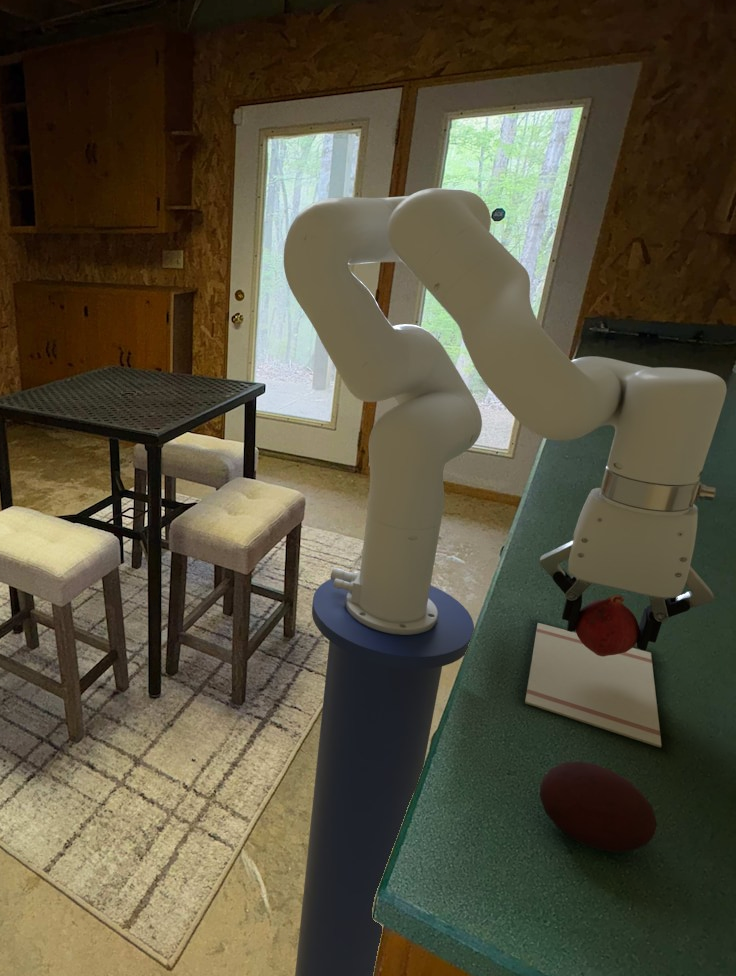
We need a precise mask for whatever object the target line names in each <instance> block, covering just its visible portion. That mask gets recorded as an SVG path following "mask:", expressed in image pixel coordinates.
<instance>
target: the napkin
mask: <svg viewBox="0 0 736 976" xmlns="http://www.w3.org/2000/svg"><path fill="white" fill-rule="evenodd" d="M525 694H526V695H525V701H524V704H526V705H529V706H532V707H535V708H538V709H541V710H544V711H548V712H550V713H553V714H556V715H560V716H563V717H564V718H565V717H566V718H568V719H571V720H574V721H578V722H580V723H584V724H586V725H590V726H593V727H596V728H599V729H602V730H605V731H608V732H611V733H615V734H617V735H620V736H623V737H626V738H629V739H633V740H634V741H635V740H636V741H639V742H641V743H645V744H648V745H651V746H654V747H657V748H659V749H661V748H662V746H663V745H662V738H661V729H660V728H661V727H660V721H659V712H658V711H659V710H658V703H657V702H658V701H657V695H656V694H657V693H656V685H655V677H654V666H653V658H652V652H650V651H647V650H646V651H642V650H639V648H636V647H635V648H634V647H632V648H631V649H630V650H628V651H627V652H624V653H620V654H616V655H608V656H604V657H603V656H598V655H596V654H595V653H594V652H592V651H591V650H589V649H588V648H587V647H586V646H584V644H583V643H582V642H581V641H580V639H579V638H578V636H577V633H576V631H575V632H574V631H573V632H570V631H567V629H563V628H559V627H555V626H552V625H548V624H544V623H540V622H537V625H536V631H535V636H534V644H533V651H532V657H531V663H530V669H529V675H528V682H527V688H526V693H525Z"/></svg>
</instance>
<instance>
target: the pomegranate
mask: <svg viewBox="0 0 736 976" xmlns="http://www.w3.org/2000/svg"><path fill="white" fill-rule="evenodd" d="M624 601H625V599H624V597H623V596H622V595H621V594H615V593H614V594H612V595H611V596H608V597H607V598H605V599H598V600H595V601H592V602H590V603H588V604H586V605H585V606H584V607H582V608H581V610H580V613H579V617H578V621H577V625H576V629H575V633H577V636H578V638H579V639H580V641H581V642H582V643H583V644H584V646H586V647H587V648H588V649H589V650H591V651H592V652H594V653H595V654H596V655H598V656H603V657H604V656H608V655H616V654H620V653H624V652H627V651H628V650H630V649H631V648H634V647H635V646H636V645H637V641H638V639H639V635H640V629H639V625H640V624H639V621H638V620H637V618H636V615H634V613H633V611H631V610H630V609H629V607H627V606H626V605H625V604H623V602H624Z"/></svg>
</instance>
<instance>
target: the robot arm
mask: <svg viewBox="0 0 736 976" xmlns="http://www.w3.org/2000/svg"><path fill="white" fill-rule="evenodd" d="M491 224H492V217H491V213H490V210H489V207H488V205H487V204H486V202H485V201H484V199H482V197H480V196H479V195H478V194H476V193H474V192H472V191H470V190H466V189H462V188H461V189H459V188H442V187H433V188H432V187H431V188H425V189H422V190H419V191H416V192H414V193H412V194H410V195H407V196H405V195H403V196H390V197H389V196H388V197H358V196H357V197H354V196H353V197H352V196H335V197H328V198H323V199H319V200H317V201H315V202H313V203H310V204H309V205H307V206H306V207H305V208H303V209H302V210H301V211H300V212H299V213H298V214H297V215H296V216H295V218H294V219H293V221H292V223H291V225H290V227H289V229H288V231H287V234H286V238H285V242H284V248H283V268H284V269H283V270H284V275H285V279H286V282H287V284H288V288H289V289H290V291H291V293H292V295H293V296H294V298H295V301H297V304H298V305H299V306H300V308H301V310H302V311H303V312H304V314H305V315H306V317H307V319H308V320H309V322H310V323H311V325H312V327H313V328H314V331H315V333H316V334H317V337H318V338H319V340H320V342H321V344H322V346H323V348H324V349H325V351H326V353H327V354H328V356H329V358H330V360H331V362H332V364H333V366H334V367H335V369H336V371H337V373H338V375H339V376H340V378H341V380H342V382H343V383H344V385H345V387H346V389H347V390H348V391H349V392H350V393H351V395H353V397H355V398H356V399H358V400H360V401H361V402H366V403H377V402H381V401H386V400H389V399H392V398H394V399H395V401H396V403H397V405H396V406H393V407H392V408H389V410H387V411H385V412H384V413H383V414H382V415H381V416H380V417H379V418H378V419H377V420H376V421H375V423H374V425H373V427H372V428H371V431H370V434H369V438H368V461H369V462H368V463H369V490H368V500H367V508H366V510H367V511H366V521H365V526H364V527H365V528H364V537H363V544H362V554H361V563H360V570H359V571H354V572H351V571H347V570H345V569H341V568H337V567H333V568H332V570H331V573H330V579H332V580H335V581H334V587H335V588H339V589H344V590H348V591H349V592H348V593H347V596H346V608H347V610H348V612H349V613H350V614H351V615H352V616H353V617H354V618H355V619H356V620H357V621H359V622H360V623H362V624H364V625H366V626H368V627H370V628H372V629H375V630H378V631H381V632H385V633H390V634H398V635H413V634H419V633H423V632H426V631H428V630H430V629H431V628H432V627H433V626H435V624H436V622H437V617H438V610H437V608H436V606H435V605H434V603H433V602H432V601H431V600H430V599H429V598H428V597H429V591H430V585H431V586H432V579H433V573H434V566H435V561H436V556H437V555H436V554H437V549H438V543H439V537H440V531H441V525H442V518H443V513H444V506H445V486H444V485H445V484H444V469H445V466H446V464H447V463H448V462H450V461H451V460H453V459H455V458H456V457H459V456H460V455H462V454H463V453H466V452H467V451H468V450H469V449H471V448H472V447H473V446H475V444H476V442H477V441H478V440H479V438H480V435H481V432H482V427H483V420H482V414H481V410H480V408H479V405H478V402H477V401H476V400H475V398H474V396H473V393H472V392H471V390H470V389H469V387H468V385H467V384H466V383H465V381H464V379H463V377H462V375H461V374H460V372H459V370H458V369H457V367H456V365H455V364H454V361H452V359H451V357H450V355H449V354H448V352H447V350H446V349H445V347H444V346H443V345H442V343H441V342H440V341H439V339H438V338H437V337H436V336H435V335H434V334H433V333H431V332H430V331H429V330H428V329H425V328H424V327H422V326H419V325H416V324H409V323H408V324H406V323H405V324H404V323H403V324H396V325H392V324H391V323H390V322H389V320H388V318H387V317H386V315H385V314H384V312H383V311H382V310H381V308H380V306H379V304H378V302H377V301H376V299H375V297H374V295H373V294H372V292H371V291H370V289H369V288H368V287H367V286H366V285H365V284H364V283H363V282H362V281H361V280H360V279H359V278H358V277H357V276H356V275H355V274H354V273H353V271H352V270H351V269H350V268H351V267H350V265H361V264H371V263H373V264H374V263H375V264H376V263H402V264H403V265H404V266H405V267H406V268H407V269H408V270H409V271H410V272H411V274H412V275H413V276H414V277H415V278H416V280H418V281H419V282H420V283H421V284H422V286H423V287H424V288H425V289H426V290H427V291H428V292H429V294H430V295H432V297H433V298H434V299H435V300H436V301H437V302H438V303H439V305H440V306H441V307H442V308H443V309H444V311H445V312H446V313H447V314H448V315H449V316H450V317H451V319H452V320H453V321H454V322H455V324H456V325H457V327H458V328H459V331H460V335H461V338H462V340H463V341H462V342H463V344H464V346H465V348H466V350H467V352H468V356H469V358H470V360H471V362H472V364H473V367H474V368H475V370H476V372H477V374H478V375H479V377H480V378H481V379H482V381H483V382H484V384H485V385H486V386H487V388H488V389H489V390H490V391H491V393H492V394H493V395H494V396H495V397H496V398H497V399H498V401H499V402H500V403H501V404H502V405H503V406H504V407H505V409H506V410H507V411H508V412H509V414H511V415H512V417H514V419H516V421H518V422H519V423H520V424H521V425H522V426H523V427H524V428H525V429H527V430H528V431H530V432H531V433H533V434H534V435H536V436H538V437H541V438H543V439H546V440H549V441H553V442H554V441H557V442H567V441H573V440H577V439H580V438H582V437H584V436H587V435H588V434H590V433H592V432H593V431H594V430H596V429H598V428H600V427H605V426H612V427H614V430H615V431H614V436H613V438H612V439H613V440H612V443H611V447H610V452H609V454H608V455H609V456H608V458H607V462H606V465H605V470H604V474H603V478H602V481H601V485H600V487H595V488H593V489H591V490H590V492H589V494H588V495H587V497H586V500H585V503H584V504H583V506H582V508H581V511H580V514H579V516H578V520H577V521H576V526H575V528H574V532H573V535H572V538H571V540H570V541H569V542H567V543H564V544H563V545H560V546H559V547H557V548H554V549H553V550H550V551H549V552H547V553H544V554H542V555H541V556H540V558H539V565H540V566H541V568H542V569H543V570H544V572H546V573H547V575H548V576H550V577H551V578H552V581H553V582H554V583H555V584H556V585H557V587H558V588H559V589H560V590H561V592H563V593H564V596H565V602H564V605H563V609H562V613H561V620H564V621H567V624H566V625H567V627H566V630H567V631H570V632H575V633H576V631H575V629H576V625H577V621H578V617H579V613H580V611H581V609H582V605H583V593H584V592H585V591H586V590H587V589H588V588H589V587H590V586H591V585H592V584H595V585H600V586H605V587H609V588H612V589H618V590H622V591H626V592H631V593H634V594H635V593H636V594H640V595H645V596H648V598H649V602H650V603H649V605H648V606H646V607H645V608H643V612H642V614H641V615H642V616H641V619H640V622H639V624H638V625H639V629H640V635H639V639H638V641H637V642H636V649H639V650H642V651H646V652H647V649H648V645H649V643H654V644H655V643H656V642H657V639H658V637H659V633H660V629H661V627H662V624H663V623H664V622H667V621H668V620H669V618H671V617H674V616H677V615H680V614H683V613H685V612H688V611H689V610H690V609H692V608H697V607H700V606H703V605H707V604H710V603H712V602H713V601H714V600H715V596H714V593H713V590H711V588H710V587H709V586H708V584H706V583H705V581H704V580H703V579H702V578H701V577H700V576H699V574H698V573H697V572H696V570H694V568H692V566H691V564H692V559H693V555H694V550H695V545H696V538H697V530H698V518H699V508H698V506H697V505H696V504H695V503H697V502H698V501H703V500H704V501H710V502H712V501H714V498H715V496H716V491H717V489H716V487H713V486H707V485H706V484H702V482H701V481H700V478H701V475H702V472H703V470H704V465H705V462H706V459H707V456H708V453H709V450H710V447H711V444H712V442H713V438H714V435H715V431H716V428H717V425H718V422H719V419H720V416H721V412H722V409H723V406H724V404H725V400H726V395H727V391H728V390H727V383H726V381H725V380H724V379H723V378H722V377H721V376H719V375H717V374H714V373H712V372H708V371H705V370H701V369H700V370H699V369H693V368H683V367H666V366H663V367H652V366H646V365H642V364H635V363H631V362H627V361H623V360H619V359H615V358H609V357H605V356H593V355H592V356H591V355H589V356H582V357H578V358H574V359H572V360H571V358H569V357H568V356H567V354H565V353H564V352H563V350H562V349H561V348H560V347H559V346H558V345H557V344H556V343H555V342H554V340H553V339H552V338H551V337H550V336H549V334H548V333H547V332H546V331H545V330H544V328H543V327H542V325H541V323H540V322H539V320H538V319H537V317H536V315H535V313H534V310H533V307H532V303H531V279H530V276H529V275H530V274H529V273H528V270H527V269H526V268H525V267H524V266H523V265H522V264H521V263H520V262H519V261H518V259H516V258H515V256H514V255H513V254H512V253H510V252H509V250H508V249H507V248H506V247H505V246H504V245H503V244H502V243H501V242H500V241H499V240H498V239H497V238H496V237H495V236H494V235H493V234H492V233H491V232H490V231H491V226H492V225H491ZM566 560H567V561H568V562H567V564H568V565H567V570H565V569H563V568H562V567H561V565H560V564H561V563H563V562H564V561H566ZM685 587H687V588H688V590H690V591H686V592H685V593H683V591H684V589H685ZM682 593H683V594H682Z"/></svg>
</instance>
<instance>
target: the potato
mask: <svg viewBox="0 0 736 976" xmlns="http://www.w3.org/2000/svg"><path fill="white" fill-rule="evenodd" d="M539 798H540V802H541V804H542V806H543V809H544V812H545V814H546V815H547V816H548V818H549V819H550V820H551V821H552V822H553V824H554V825H555V826H556V827H557V828H558V829H559V830H560V831H561V832H563V833H564V834H565V835H567V836H568V837H570V838H571V839H573V840H575V841H577V842H578V843H579V844H582V845H585V846H586V847H590V848H593V849H597V850H599V851H607V852H620V853H621V852H628V851H629V852H630V851H634V850H636V849H640V848H643V847H645V846H646V845H648V843H650V842H651V841H652V839H653V838H654V836H655V835H656V832H657V831H656V830H657V826H658V823H657V818H656V814H655V812H654V809H653V807H652V804H651V803H650V801H649V800H648V799H647V798H646V796H645V795H644V793H643V792H642V791H641V790H640V789H639V788H638V787H636V785H634V784H633V783H632V782H631V781H629V780H628V779H626V778H625V777H624V776H623V775H621V774H619V773H617V772H615V771H613V770H611V769H609V768H606V767H603V766H600V765H598V764H596V763H591V762H585V761H566V762H560V763H559V764H557V765H556V766H554V767H552V768H550V769H549V770H548V771H547V773H546V774H545V775H544V776H543V777H542V779H541V783H540V787H539Z"/></svg>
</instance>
